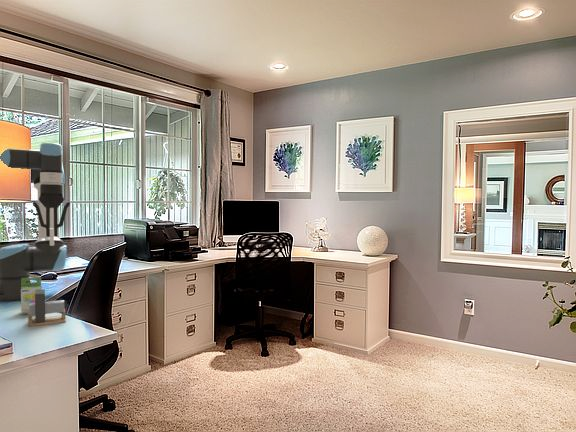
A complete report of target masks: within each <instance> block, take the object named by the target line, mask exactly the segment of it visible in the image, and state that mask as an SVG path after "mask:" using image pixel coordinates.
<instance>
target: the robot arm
mask: <svg viewBox="0 0 576 432" xmlns="http://www.w3.org/2000/svg"><path fill="white" fill-rule="evenodd" d="M0 159H1V161H3V163H4V164H6V165H7V166H8V167H11V168H21V169H31V183H30V184H33V187H34V189H36V190H37V200H36V201H33V202H32V206H33V207H34V208H35V210H36V214H37V226H38V227H37V229H38V230H37V231H38V232H37V233H38V234H37V237H38V238H37V240H36V241H35V242H34V246H31V245H30V243H18V244H12V245H7V246H3V247H1V248H0V301H1V302H7V301H8V302H10V301H20V300H21V278H30V273H47V272H52V273H53V272H59V271H62V270H64V268H65V266H66V259H67V253H68V250H67V249H68V246H67V245H66V244H64V240H63V239H61V238H60V228H61V227H63V225H64V221H65V219H66V215H67V211H68V208H69V207H70V205H71V202H69V201H67V200H65V198H64V195H63V193H64V192H63V189H64V188H63V185H64V184H66V182H65V181H66V179H65V178H66V177H65V171H64V167H63V147H62V145H61V144H59V143H54V142H42V143H41V144H40V145H39V150H38V149H37V150H36V149H24V148H23V149H21V148H20V149H19V148H8V149H7V150H5V151H4V152H3V153H2V154H1V156H0ZM61 204H62V206H63V208H62V212H61V216H60V215H59V214H60V210H59V207H60V206H61ZM31 281H32V280H29V281H26V283H32V282H31Z"/></svg>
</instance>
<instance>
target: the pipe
mask: <svg viewBox="0 0 576 432" xmlns="http://www.w3.org/2000/svg"><path fill="white" fill-rule="evenodd" d="M64 309H65V300H64V299H60V300H49V301H45V315H46V314H55V313H56V314H57V313H62V312H65V313H66V310H65V311H64ZM28 315H29V316H30V315H32V316H35V303H29V314H28Z"/></svg>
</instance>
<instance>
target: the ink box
mask: <svg viewBox="0 0 576 432" xmlns="http://www.w3.org/2000/svg"><path fill="white" fill-rule="evenodd" d="M29 280H30V281H33V282H31V283H26V281H29ZM35 281H36V282H35ZM41 289H42V276H38V277H36V276H35V277H29V278H21V301H20V309H21V315H29V303H35V290H41Z"/></svg>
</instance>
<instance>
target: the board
mask: <svg viewBox="0 0 576 432" xmlns="http://www.w3.org/2000/svg"><path fill="white" fill-rule="evenodd" d="M64 311H65V312H61V315H52V316H45V322H37V323H35V318H34V317H33V315H30V316H29V314H27V316H28V322H27V323H28V325H27V326H28V327H34V326H36V327H37V326H43V325H51V324H52V325H53V324H60V323H66V322H67V319H66V309H65V308H64Z"/></svg>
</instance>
